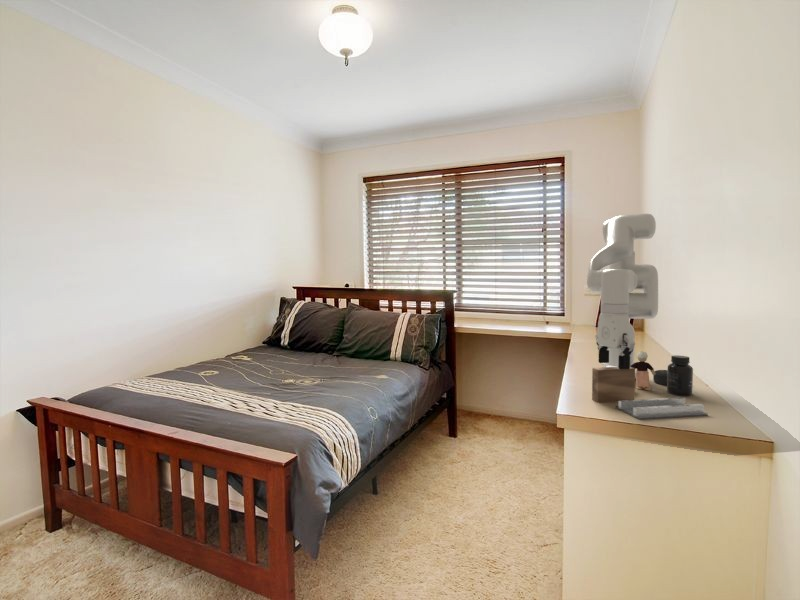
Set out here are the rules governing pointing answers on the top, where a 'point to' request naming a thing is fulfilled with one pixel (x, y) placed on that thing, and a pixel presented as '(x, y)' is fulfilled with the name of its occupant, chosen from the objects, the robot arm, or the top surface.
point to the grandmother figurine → (642, 371)
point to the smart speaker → (660, 377)
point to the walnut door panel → (613, 384)
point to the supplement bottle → (680, 376)
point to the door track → (660, 408)
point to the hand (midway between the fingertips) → (613, 365)
